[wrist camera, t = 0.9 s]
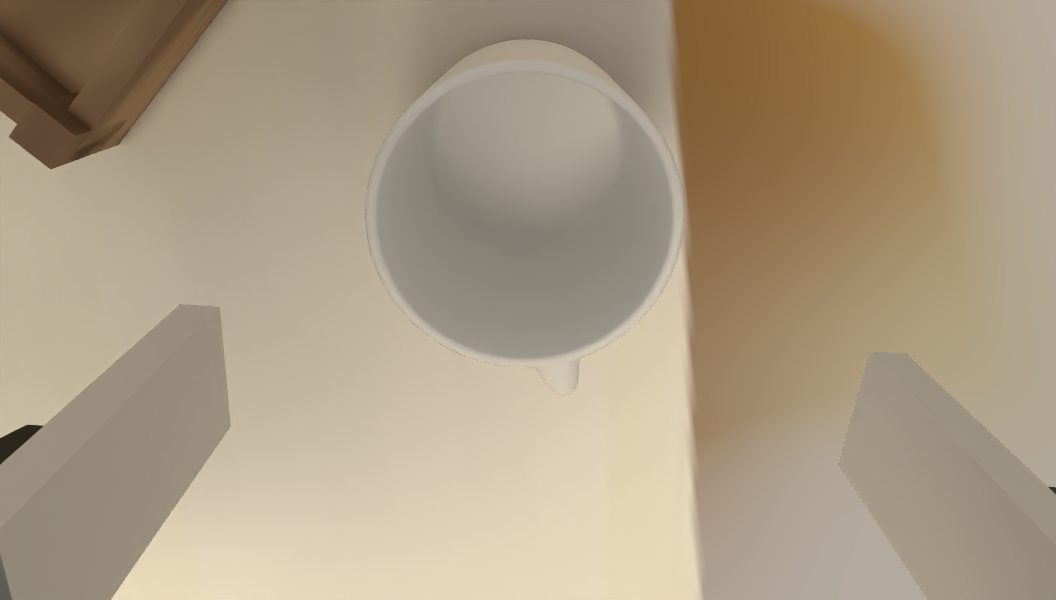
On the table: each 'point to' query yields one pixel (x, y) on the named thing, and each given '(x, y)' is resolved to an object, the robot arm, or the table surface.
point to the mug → (525, 209)
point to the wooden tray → (89, 67)
